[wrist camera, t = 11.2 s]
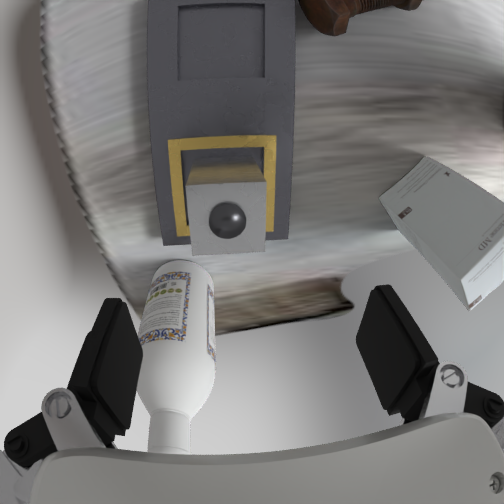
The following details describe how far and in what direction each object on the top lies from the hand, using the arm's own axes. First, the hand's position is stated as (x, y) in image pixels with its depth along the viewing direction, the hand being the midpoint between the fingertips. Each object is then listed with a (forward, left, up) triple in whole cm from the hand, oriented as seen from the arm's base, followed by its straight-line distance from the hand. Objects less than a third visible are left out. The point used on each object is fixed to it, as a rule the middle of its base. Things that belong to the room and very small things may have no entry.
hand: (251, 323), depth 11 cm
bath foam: (+6, +12, -19) cm, 23 cm away
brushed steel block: (+1, 0, -18) cm, 18 cm away
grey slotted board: (+1, -6, -19) cm, 20 cm away
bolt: (-14, -20, -19) cm, 31 cm away
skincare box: (-20, +2, -19) cm, 28 cm away
